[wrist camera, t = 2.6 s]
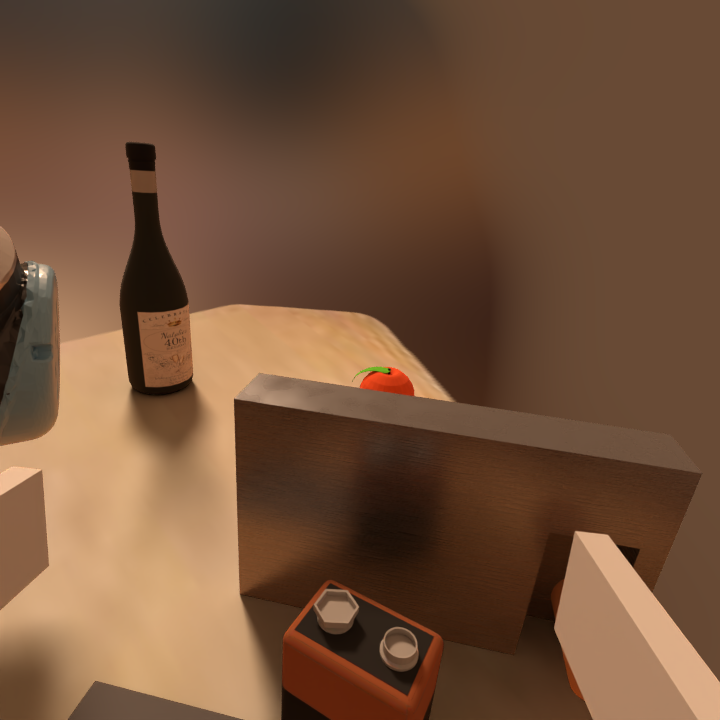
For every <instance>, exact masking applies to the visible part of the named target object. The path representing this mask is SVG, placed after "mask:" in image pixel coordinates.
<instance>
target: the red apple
mask: <svg viewBox="0 0 720 720" xmlns="http://www.w3.org/2000/svg"><path fill="white" fill-rule="evenodd" d="M366 371H372V372H370V373H369V374H368V375H367V376H366V377H365V378H364V379H363V381H362V383H361V385H360V388H362V389H369V390H376V391H382V392H389V393H396V394H402V395H409V396H414V388H413V385H412V383H411V381H410V380H409V378H408V377H407V376H406V375H405V374H404V373H402V372H401V371H400V370H398V369H395V368H391V367H371V368H367V369H365V370H362V371H360V372H359V373H358V374H360V373H362V372H366ZM358 374H357V375H358ZM357 375H356V376H357ZM356 376H355V377H356ZM353 380H354V379H353Z"/></svg>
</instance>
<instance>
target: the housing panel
mask: <svg viewBox="0 0 720 720" xmlns="http://www.w3.org/2000/svg"><path fill="white" fill-rule="evenodd" d="M234 416H235V449H236V482H237V516H238V549H239V583H240V594H242V595H246V596H251V597H255V598H260V599H264V600H269V601H273V602H278V603H282V604H287V605H291V606H296V607H300V608H305V607H306V605H307V604H308V603H309V602H310V600H311V599H312V598H313V597H314V595H315V594H316V593H317V591H318V590H319V589H320V588H321V586H322V585H323V584H324V583H325V582H326V581H328V580H333V581H336V582H338V583H340V584H342V585H344V586H346V587H348V588H350V589H352V590H354V591H356V592H358V593H359V594H361V595H363V596H365V597H367V598H369V599H371V600H373V601H375V602H377V603H379V604H381V605H383V606H385V607H387V608H389V609H391V610H393V611H395V612H397V613H399V614H401V615H402V616H404V617H406V618H408V619H410V620H412V621H414V622H416V623H418V624H420V625H422V626H424V627H426V628H428V629H430V630H432V631H434V632H435V633H437V634H438V635H440V636H441V638H442V639H444V640H449V641H453V642H457V643H462V644H466V645H471V646H475V647H480V648H484V649H489V650H493V651H498V652H502V653H507V654H511V655H514V654H515V651H516V647H517V644H518V640H519V637H520V633H521V630H522V626H523V623H524V619H525V616H526V615H530V616H535V617H540V618H545V619H549V620H554V621H555V616H554V612H553V607H552V603H551V592H552V590H553V588H554V587H555V586H556V584H558V583H559V582H560V581H562V580H563V579H565V575H566V570H567V566H568V561H569V557H570V552H571V547H572V543H573V538H574V533H575V531H579V532H588V533H597V534H605V535H608V536H609V537H610V538H611V540H612V541H613V542H614V544H615V545H616V546H617V548H618V549H619V550H620V551H621V553H622V554H623V555H624V557H625V558H626V559H627V561H628V562H629V563H630V565H631V566H632V567H633V569H634V570H635V571H636V573H637V574H638V575H639V577H640V578H641V579H642V580H643V582H644V583H645V584H646V586H647V587H648V588H649V590H650V591H651V592H652V593H653V590H654V588H655V585H656V583H657V581H658V578H659V576H660V573H661V571H662V569H663V566H664V564H665V561H666V559H667V557H668V554H669V552H670V549H671V547H672V545H673V542H674V540H675V537H676V535H677V533H678V530H679V528H680V525H681V523H682V521H683V518H684V516H685V514H686V511H687V509H688V506H689V504H690V502H691V499H692V497H693V495H694V492H695V490H696V487H697V485H698V483H699V480H700V478H701V475H702V472H701V471H700V470H699V469H698V468H697V466H696V465H695V464H694V463H693V462H692V460H691V459H690V458H689V457H688V455H687V454H686V453H685V452H684V450H683V449H682V448H681V447H680V445H679V444H678V443H677V442H676V441H675V439H674V438H673V437H672V436H671V435H669V434H662V433H655V432H648V431H642V430H636V429H629V428H622V427H615V426H608V425H602V424H596V423H589V422H582V421H576V420H569V419H562V418H555V417H549V416H542V415H536V414H529V413H522V412H516V411H509V410H502V409H496V408H488V407H482V406H475V405H469V404H462V403H456V402H449V401H442V400H436V399H429V398H422V397H416V396H409V395H402V394H396V393H389V392H382V391H376V390H369V389H362V388H356V387H349V386H342V385H336V384H329V383H322V382H316V381H309V380H302V379H296V378H289V377H282V376H276V375H269V374H262V373H259V374H258V375H257V376H256V377H255V378H254V379H253V380H252V381H251V382H250V383H249V384H248V385H247V386H246V387H245V388H244V389H243V390H242V391H241V392H240V393H239V394H238V395H237V396H236V397H235V398H234Z"/></svg>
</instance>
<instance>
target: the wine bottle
mask: <svg viewBox="0 0 720 720" xmlns="http://www.w3.org/2000/svg"><path fill="white" fill-rule="evenodd" d="M126 155H127V157H128V162H129V168H130V177H131V186H132V195H133V205H134V215H135V234H134V241H133V245H132V249H131V253H130V256H129V259H128V262H127V265H126V269H125V272H124V275H123V279H122V283H121V290H120V311H121V319H122V328H123V336H124V344H125V352H126V360H127V368H128V376H129V381H130V383H131V385H132V387H133V388H134V389H136V390H138V391H140V392H142V393H147V394H167V393H172V392H175V391H179V390H181V389H183V388H185V387H186V386H187V385H188V384H189V383H190V382H191V381H192V377H193V364H192V348H191V333H190V318H189V303H188V298H187V293H186V289H185V286H184V283H183V280H182V278H181V275H180V273H179V271H178V269H177V267H176V265H175V263H174V261H173V259H172V257H171V255H170V253H169V250H168V248H167V246H166V243H165V241H164V238H163V235H162V231H161V227H160V221H159V213H158V200H157V186H156V173H155V159H156V153H155V146H154V145H153V144H149V143H137V142H127V143H126Z"/></svg>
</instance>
